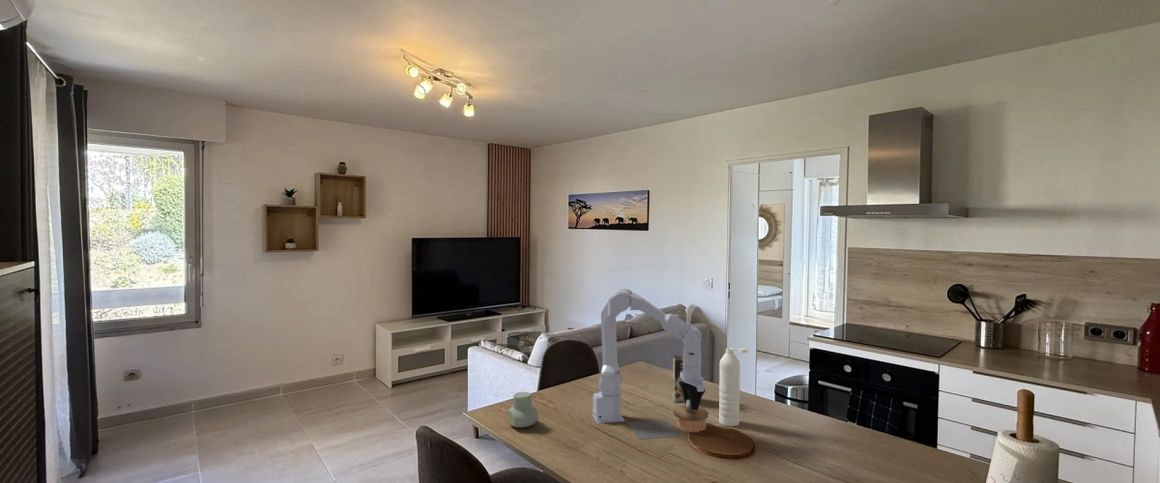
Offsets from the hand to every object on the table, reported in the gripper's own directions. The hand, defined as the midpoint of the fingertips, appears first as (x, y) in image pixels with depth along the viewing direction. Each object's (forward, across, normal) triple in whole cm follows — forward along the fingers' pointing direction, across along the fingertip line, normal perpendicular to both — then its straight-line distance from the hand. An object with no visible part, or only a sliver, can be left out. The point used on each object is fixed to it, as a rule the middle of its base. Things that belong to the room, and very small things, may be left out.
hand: (691, 406), depth 156 cm
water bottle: (+7, +1, -15) cm, 17 cm away
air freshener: (+7, +12, +54) cm, 56 cm away
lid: (+2, 0, 0) cm, 2 cm away
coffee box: (+7, +24, -8) cm, 26 cm away
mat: (+7, 0, +13) cm, 15 cm away
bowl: (+7, 0, 0) cm, 7 cm away
